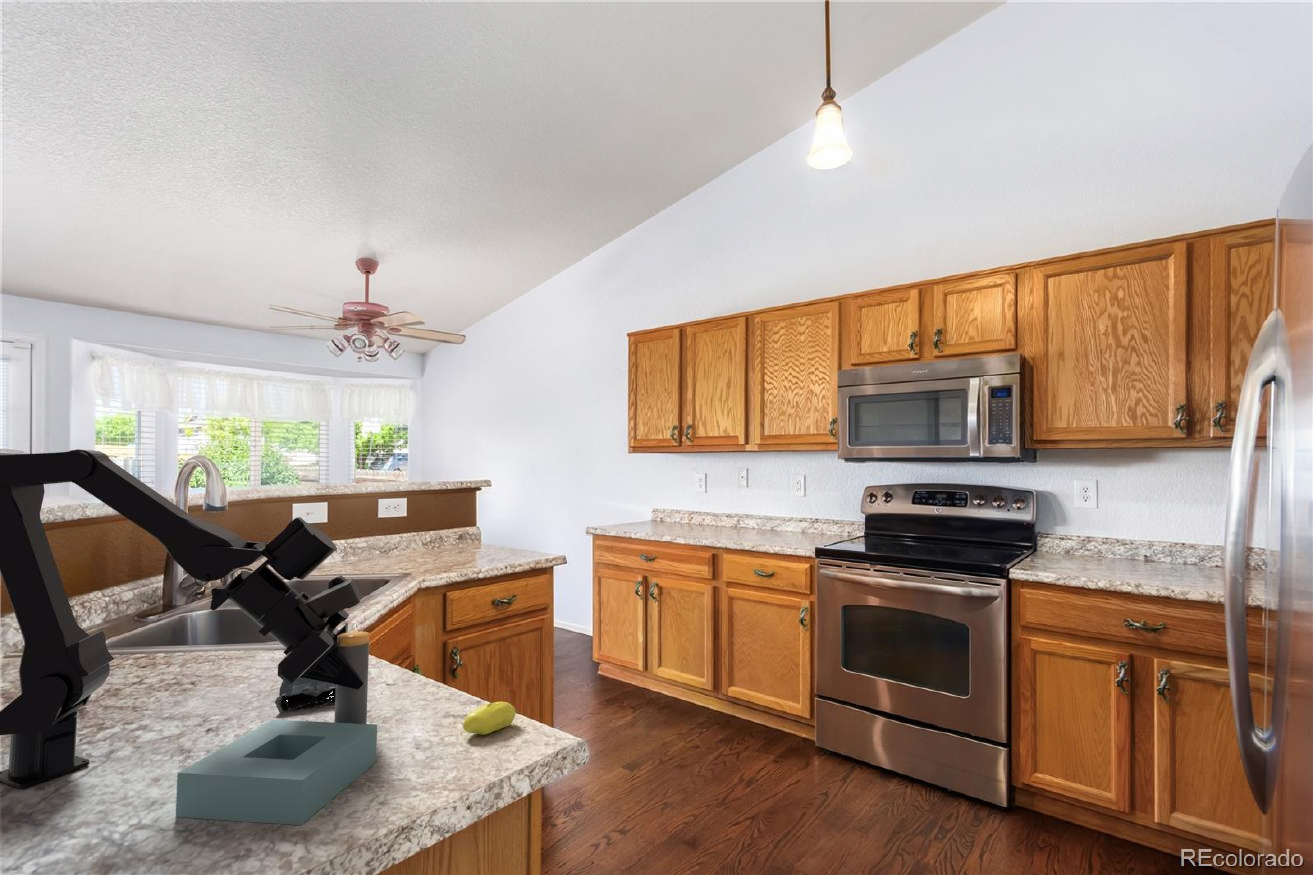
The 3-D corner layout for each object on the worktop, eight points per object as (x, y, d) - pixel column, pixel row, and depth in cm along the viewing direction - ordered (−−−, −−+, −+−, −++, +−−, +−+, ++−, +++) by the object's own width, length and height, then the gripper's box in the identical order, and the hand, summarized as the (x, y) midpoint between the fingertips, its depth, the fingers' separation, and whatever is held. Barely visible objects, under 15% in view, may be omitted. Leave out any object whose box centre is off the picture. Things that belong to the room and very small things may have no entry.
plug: (327, 734, 84) (330, 637, 85) (351, 723, 88) (354, 630, 89) (349, 739, 83) (352, 640, 84) (372, 727, 87) (375, 633, 87)
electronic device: (346, 714, 97) (346, 672, 110) (342, 681, 96) (342, 643, 110) (277, 733, 93) (285, 687, 106) (272, 698, 92) (281, 656, 105)
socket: (175, 817, 65) (177, 772, 65) (271, 755, 79) (272, 719, 79) (301, 825, 64) (302, 779, 64) (376, 761, 78) (377, 724, 78)
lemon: (522, 728, 88) (522, 700, 88) (469, 745, 83) (469, 715, 83) (507, 719, 91) (508, 692, 91) (455, 735, 86) (455, 706, 86)
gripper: (311, 571, 77) (405, 654, 80) (335, 552, 94) (411, 621, 97) (233, 641, 74) (334, 725, 77) (273, 608, 91) (353, 677, 94)
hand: (363, 681), depth 86 cm, fingers closed on plug, 4 cm apart
